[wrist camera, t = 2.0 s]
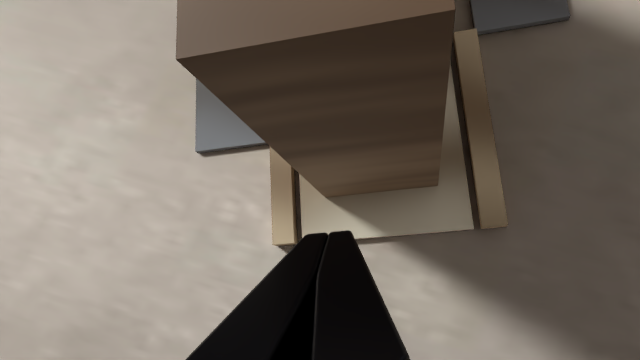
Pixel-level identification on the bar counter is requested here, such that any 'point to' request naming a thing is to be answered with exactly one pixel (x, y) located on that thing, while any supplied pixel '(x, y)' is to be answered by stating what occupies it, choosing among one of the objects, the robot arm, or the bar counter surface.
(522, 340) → the bar counter surface
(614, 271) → the bar counter surface
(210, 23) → the walnut block
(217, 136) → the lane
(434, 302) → the bar counter surface
